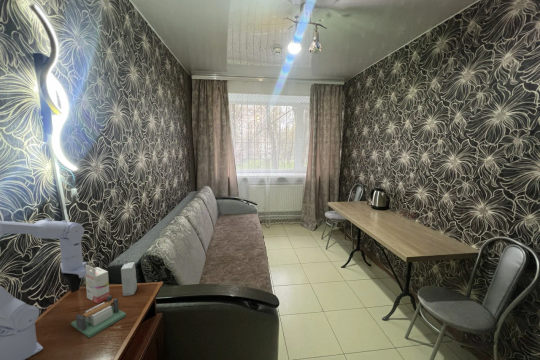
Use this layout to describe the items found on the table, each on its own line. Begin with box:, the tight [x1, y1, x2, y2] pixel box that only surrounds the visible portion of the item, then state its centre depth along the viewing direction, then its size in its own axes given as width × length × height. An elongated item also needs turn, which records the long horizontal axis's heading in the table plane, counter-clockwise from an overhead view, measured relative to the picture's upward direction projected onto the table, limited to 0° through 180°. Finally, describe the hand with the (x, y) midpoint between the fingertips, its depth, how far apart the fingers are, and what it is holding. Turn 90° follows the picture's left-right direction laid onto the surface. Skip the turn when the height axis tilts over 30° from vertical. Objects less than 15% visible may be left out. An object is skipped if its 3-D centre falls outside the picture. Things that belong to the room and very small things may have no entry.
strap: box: [82, 298, 115, 318], centre depth 85 cm, size 10×2×1 cm, turn 152°
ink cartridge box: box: [84, 264, 111, 305], centre depth 97 cm, size 9×5×15 cm, turn 62°
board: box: [70, 294, 127, 339], centre depth 84 cm, size 12×12×6 cm
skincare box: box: [120, 261, 138, 297], centre depth 102 cm, size 6×4×12 cm
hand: (74, 290), depth 85 cm, fingers closed
